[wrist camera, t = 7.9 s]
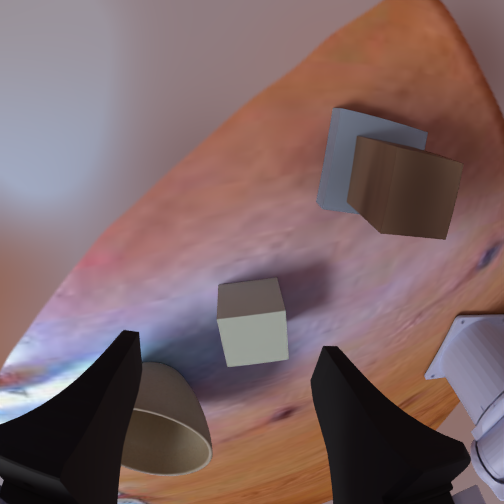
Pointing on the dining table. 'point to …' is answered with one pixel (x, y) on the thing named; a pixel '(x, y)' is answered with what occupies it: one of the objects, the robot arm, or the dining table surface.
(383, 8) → the dining table surface
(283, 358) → the sage block
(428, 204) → the walnut block
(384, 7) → the dining table surface
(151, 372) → the flower pot
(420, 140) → the slate slab
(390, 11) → the dining table surface
